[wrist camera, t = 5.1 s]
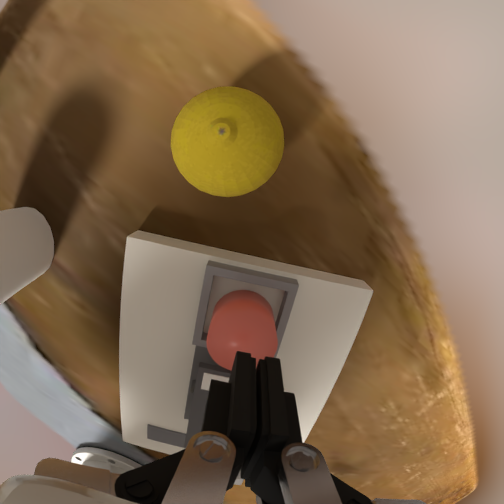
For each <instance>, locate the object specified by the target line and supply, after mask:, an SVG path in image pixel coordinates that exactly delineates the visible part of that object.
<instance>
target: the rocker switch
mask: <svg viewBox="0 0 504 504" xmlns="http://www.w3.org/2000/svg"><path fill="white" fill-rule="evenodd" d="M230 374H231V370H228V369H225V368H223V367H222V366H217V365H212V364H207V363H203V362H200V363H199V367H198V372H197V377H196V383H195V388H194V393H193V399H192V404H191V410H190V415H189V421H188V427H187V433H186V438H185V444H184V448H186V447H187V445H188V442H189V440H190V439H191V438H192V436H194V435H195V434H197V433H199V432H201V428H202V423H203V417H204V412H205V406H206V401H207V396H208V392H209V387H210V382H211V379H214V380H218V381H223V382H229V378H230Z"/></svg>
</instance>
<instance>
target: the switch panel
mask: <svg viewBox="0 0 504 504" xmlns="http://www.w3.org/2000/svg"><path fill="white" fill-rule="evenodd" d="M236 290H250V291H253V292H256V293H258V294H260V295H261V296H263V297H264V298H265V299H266V300H267V301H268V302H269V304H270V305H271V308H272V310H273V315H274V321H275V327H276V333H277V339H278V346H277V351H276V353H275V355H274V358H279V359H280V362H281V370H282V378H283V386H284V392H290V393H294V395H295V399H296V405H297V411H298V417H299V423H300V430H301V436H302V442H303V443H304V441H305V440H306V438H307V436H308V434H309V433H310V431H311V429H312V427H313V425H314V423H315V422H316V420H317V418H318V416H319V414H320V412H321V410H322V408H323V406H324V404H325V402H326V401H327V399H328V397H329V395H330V392H331V390H332V388H333V386H334V384H335V382H336V380H337V378H338V376H339V374H340V372H341V369H342V367H343V365H344V363H345V361H346V358H347V356H348V354H349V352H350V349H351V347H352V345H353V342H354V340H355V338H356V335H357V333H358V330H359V328H360V325H361V323H362V320H363V318H364V315H365V313H366V310H367V307H368V305H369V302H370V299H371V297H372V294H373V290H372V289H371V288H370V287H369V286H368V285H367V284H366V283H365V282H364V281H363V280H359V279H355V278H350V277H345V276H341V275H336V274H332V273H327V272H323V271H318V270H314V269H309V268H305V267H300V266H296V265H291V264H287V263H282V262H278V261H273V260H269V259H264V258H260V257H255V256H251V255H246V254H242V253H237V252H233V251H228V250H224V249H219V248H215V247H211V246H206V245H202V244H197V243H193V242H188V241H184V240H179V239H175V238H171V237H166V236H162V235H157V234H153V233H148V232H144V231H140V230H137V231H136V232H134V233H132V234H130V235H128V236H127V241H126V250H125V259H124V269H123V280H122V294H121V310H120V336H119V383H120V408H121V424H122V437H123V441H124V442H127V443H131V444H134V445H137V446H140V447H144V448H147V449H151V450H154V451H158V452H162V453H166V454H170V455H172V454H174V453H176V452H179V451H181V450H183V449H186V448H184V444H185V438H186V433H187V427H188V421H189V415H190V410H191V404H192V399H193V393H194V388H195V383H196V377H197V372H198V367H199V363H200V362H203V363H207V364H212V365H217V366H220V365H219V364H217V363H216V362H215V361H214V360H213V359H212V357H211V356H210V354H209V352H208V349H207V343H206V340H207V335H208V330H209V326H210V322H211V318H212V314H213V310H214V307H215V305H216V303H217V302H218V301H219V299H220V298H221V297H223V296H224V295H226V294H227V293H229V292H232V291H236Z"/></svg>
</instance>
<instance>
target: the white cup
mask: <svg viewBox="0 0 504 504" xmlns="http://www.w3.org/2000/svg"><path fill="white" fill-rule="evenodd" d="M53 256H54V239H53V236H52V232H51V228H50V226H49V224H48V222H47V221H46V219H45V217H44V216H43V215H42V214H41V213H40V212H38V211H37V210H36V209H35V208H30V207H21V208H15V209H9V210H3V211H0V304H2V303H3V302H4V301H6V300H7V299H8V298H10V297H11V296H12V295H14V294H15V293H16V292H18V291H19V290H21V289H22V288H23V287H25V286H26V285H28V284H29V283H30V282H32V281H33V280H35V279H36V278H38V277H39V276H41V275H42V274H44V272H45V271H46V270H47V269H48V268H49V267H50V265H51V262H52V259H53Z"/></svg>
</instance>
